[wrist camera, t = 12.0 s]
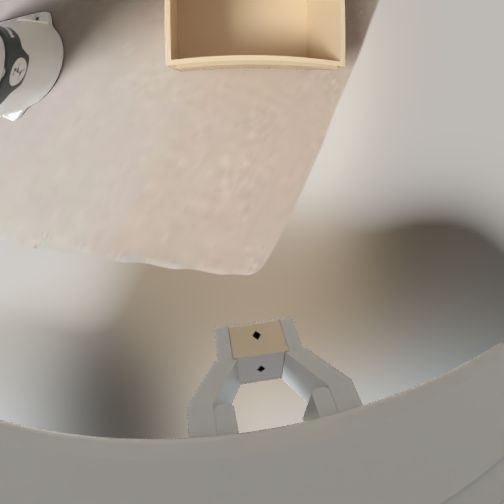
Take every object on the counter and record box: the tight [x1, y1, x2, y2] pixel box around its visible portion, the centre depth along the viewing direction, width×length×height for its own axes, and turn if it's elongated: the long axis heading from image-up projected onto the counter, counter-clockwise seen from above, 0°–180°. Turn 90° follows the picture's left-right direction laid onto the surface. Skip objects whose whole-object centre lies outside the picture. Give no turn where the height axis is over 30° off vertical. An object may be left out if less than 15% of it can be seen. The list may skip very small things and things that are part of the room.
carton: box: [164, 0, 345, 72], centre depth 27 cm, size 20×16×12 cm
